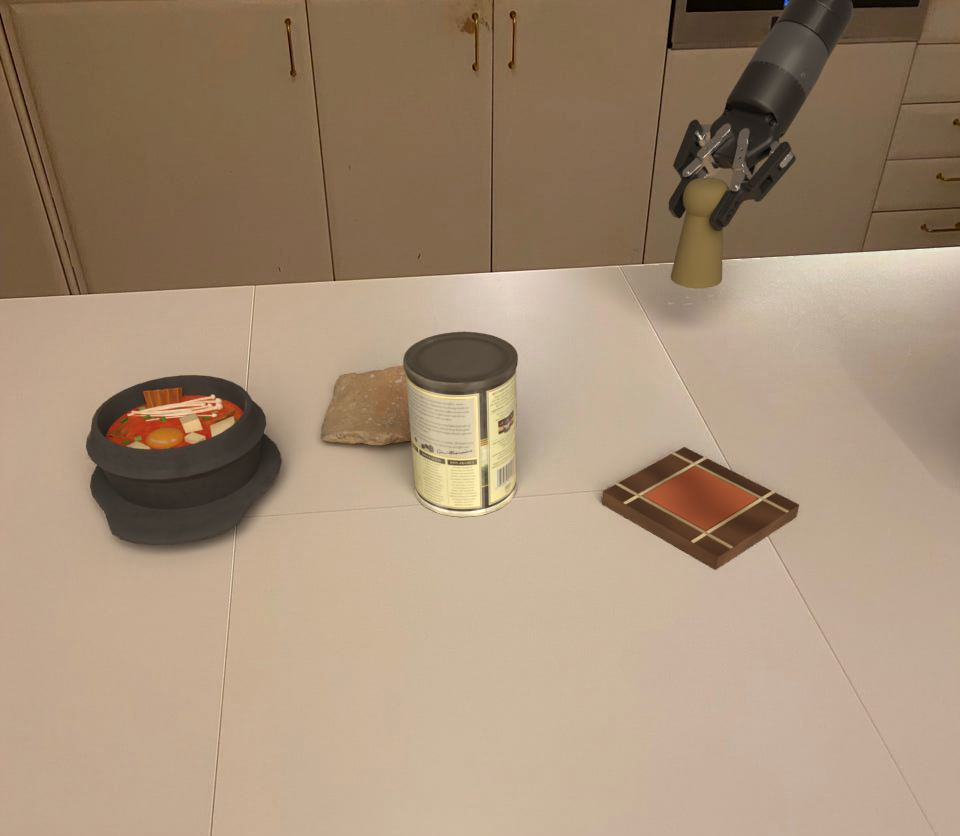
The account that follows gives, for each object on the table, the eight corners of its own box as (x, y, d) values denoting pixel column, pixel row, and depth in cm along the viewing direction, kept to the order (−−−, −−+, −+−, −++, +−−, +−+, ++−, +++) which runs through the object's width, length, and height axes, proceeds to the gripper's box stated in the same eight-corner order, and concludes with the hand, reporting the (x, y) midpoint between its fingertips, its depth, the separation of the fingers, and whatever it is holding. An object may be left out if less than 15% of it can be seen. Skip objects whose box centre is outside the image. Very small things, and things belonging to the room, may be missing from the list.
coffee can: (423, 457, 102) (414, 328, 93) (522, 463, 101) (523, 333, 91) (403, 514, 95) (392, 380, 85) (510, 521, 93) (510, 386, 84)
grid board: (682, 459, 101) (684, 445, 100) (796, 517, 93) (800, 503, 92) (601, 504, 95) (602, 490, 94) (715, 570, 87) (718, 556, 86)
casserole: (115, 429, 107) (94, 357, 102) (287, 416, 109) (275, 344, 103) (73, 569, 89) (44, 492, 83) (280, 552, 90) (265, 474, 85)
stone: (438, 389, 113) (437, 363, 111) (408, 460, 101) (406, 432, 99) (345, 383, 114) (342, 357, 112) (305, 452, 103) (301, 425, 101)
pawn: (669, 287, 115) (680, 188, 108) (671, 267, 119) (681, 171, 112) (722, 289, 114) (736, 190, 107) (722, 269, 119) (736, 172, 111)
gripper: (841, 115, 108) (755, 255, 110) (736, 92, 116) (658, 222, 118) (823, 69, 102) (732, 218, 104) (713, 48, 110) (631, 186, 112)
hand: (693, 219), depth 111 cm, fingers closed on pawn, 5 cm apart
